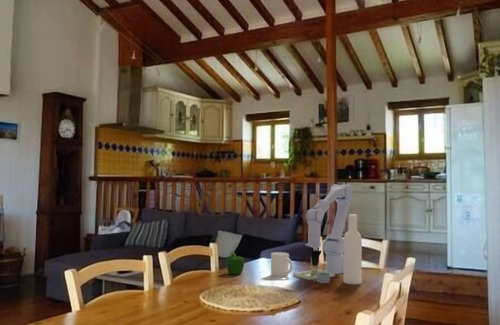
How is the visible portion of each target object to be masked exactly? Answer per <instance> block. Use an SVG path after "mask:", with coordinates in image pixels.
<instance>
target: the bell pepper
mask: <svg viewBox="0 0 500 325" xmlns="http://www.w3.org/2000/svg"><path fill="white" fill-rule="evenodd" d="M230 255H231V256H227V257H226V259H225V264H226V265H225V266H226V270H227V272H228V274H231V275H239V274H242V273H243V270H244V267H245V266H244V264H245V259H244V257H243V256H240V255H239V256H238V255H236V253H235V252H230ZM232 255H233V256H232Z"/></svg>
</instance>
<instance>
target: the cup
mask: <svg viewBox="0 0 500 325" xmlns="http://www.w3.org/2000/svg"><path fill="white" fill-rule="evenodd" d="M330 278H331V277H330V274H329V273H321V272H320V273H317V279H316V282H317V283H320V284H328V283H329V284H330V280H331V279H330Z"/></svg>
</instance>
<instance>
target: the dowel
mask: <svg viewBox="0 0 500 325" xmlns="http://www.w3.org/2000/svg"><path fill="white" fill-rule="evenodd" d="M317 270H318V265H317V266H313V265H312V259H311V260H310V271H311V276H316V275H317Z"/></svg>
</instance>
